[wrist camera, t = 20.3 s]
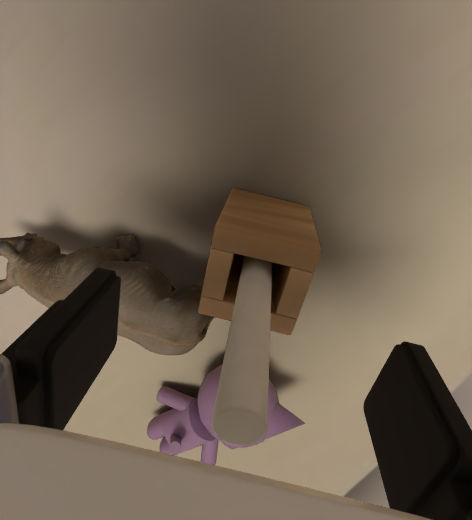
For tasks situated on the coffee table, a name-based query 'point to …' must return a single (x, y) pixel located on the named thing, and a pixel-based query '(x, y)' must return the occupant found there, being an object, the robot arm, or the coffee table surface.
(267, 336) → the stylus
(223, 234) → the pen stand
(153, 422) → the figurine
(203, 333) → the rhino figurine
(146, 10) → the coffee table surface
